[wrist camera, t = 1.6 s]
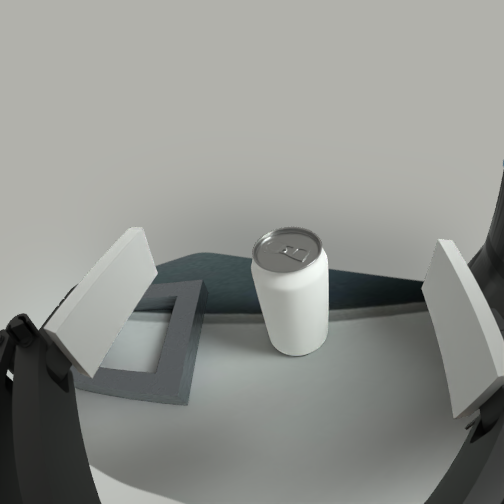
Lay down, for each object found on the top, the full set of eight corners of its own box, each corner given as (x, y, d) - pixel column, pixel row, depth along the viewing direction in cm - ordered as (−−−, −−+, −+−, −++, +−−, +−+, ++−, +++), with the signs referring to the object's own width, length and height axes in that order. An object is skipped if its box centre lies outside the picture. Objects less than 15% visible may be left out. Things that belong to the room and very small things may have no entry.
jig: (208, 292, 37) (202, 279, 36) (187, 405, 25) (177, 396, 23) (110, 299, 40) (102, 288, 38) (74, 387, 27) (62, 378, 26)
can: (289, 302, 33) (275, 218, 26) (338, 321, 29) (340, 233, 22) (258, 342, 30) (230, 260, 22) (309, 367, 26) (302, 287, 18)
